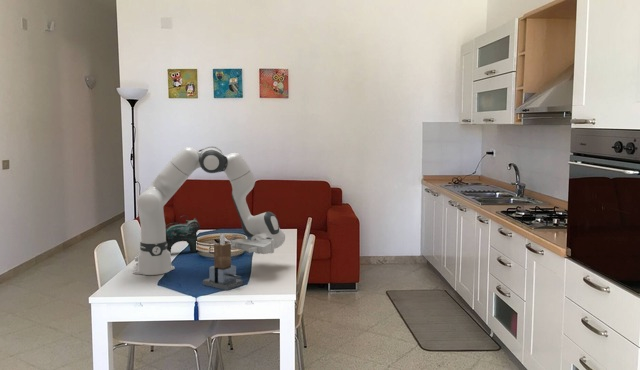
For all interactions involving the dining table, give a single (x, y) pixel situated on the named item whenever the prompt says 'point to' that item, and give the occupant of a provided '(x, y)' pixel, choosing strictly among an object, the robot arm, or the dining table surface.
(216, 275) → the vise
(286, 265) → the dining table surface
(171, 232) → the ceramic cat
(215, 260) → the walnut sleeve
